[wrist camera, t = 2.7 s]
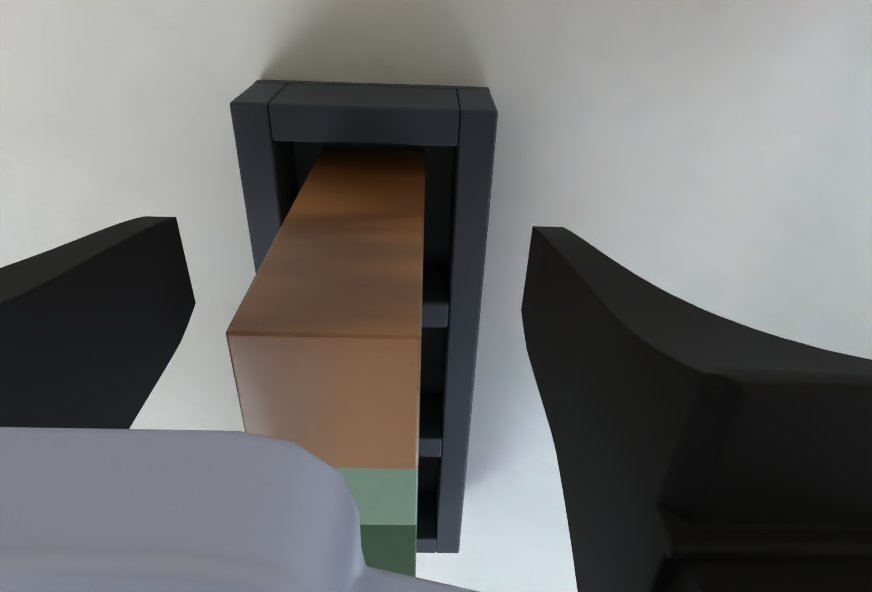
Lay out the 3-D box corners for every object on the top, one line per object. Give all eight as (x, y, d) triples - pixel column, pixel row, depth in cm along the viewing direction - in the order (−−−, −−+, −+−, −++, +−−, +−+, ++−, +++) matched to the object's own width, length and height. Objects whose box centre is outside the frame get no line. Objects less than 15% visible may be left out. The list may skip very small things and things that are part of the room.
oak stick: (425, 149, 14) (421, 336, 8) (423, 242, 16) (418, 470, 9) (322, 146, 14) (224, 332, 8) (329, 239, 16) (251, 468, 9)
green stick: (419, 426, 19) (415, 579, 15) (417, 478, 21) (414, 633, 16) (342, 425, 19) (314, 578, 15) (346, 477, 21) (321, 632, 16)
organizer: (488, 86, 14) (498, 110, 12) (456, 499, 22) (458, 553, 20) (257, 79, 14) (228, 102, 12) (309, 497, 22) (297, 552, 20)
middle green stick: (421, 309, 17) (418, 449, 12) (420, 376, 18) (416, 526, 14) (333, 306, 17) (296, 447, 12) (338, 374, 18) (307, 524, 14)
